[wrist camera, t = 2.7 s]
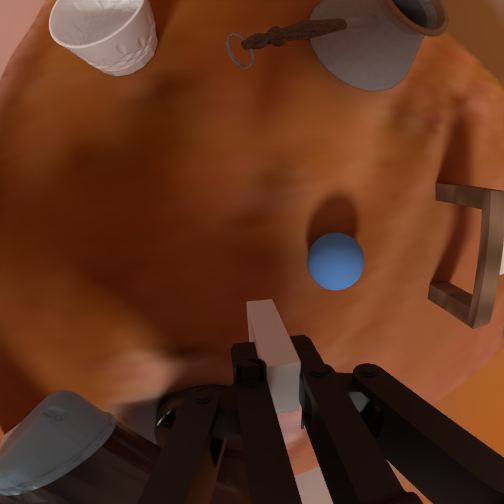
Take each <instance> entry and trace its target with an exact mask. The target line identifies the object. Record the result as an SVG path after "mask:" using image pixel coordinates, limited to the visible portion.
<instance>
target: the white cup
mask: <svg viewBox="0 0 504 504" xmlns="http://www.w3.org/2000/svg"><path fill="white" fill-rule="evenodd" d="M49 30H50V33H51V36H52V37H53V39H54V40H55V41H56V42H57V43H58V44H60V45H62V46H63V47H65V48H66V49H68V50H69V51H71V52H72V53H74V54H75V55H76V56H78V57H79V58H81V59H82V60H84V61H86V62H87V63H89V64H90V65H92V66H94V67H96V68H98V69H99V70H101V71H102V72H103V73H106V74H109V75H113V76H123V75H129V74H132V73H134V72H136V71H137V70H139V69H141V68H143V67H144V66H145V65H146V64H147V63H148V62H149V60H150V59H151V58H152V57H153V56H154V54H155V50H156V47H157V44H158V39H157V35H156V31H155V22H154V16H153V12H152V8H151V4H150V0H57V1H56V3H55V5H54V7H53V9H52V11H51V14H50V18H49Z"/></svg>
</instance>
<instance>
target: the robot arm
mask: <svg viewBox="0 0 504 504" xmlns="http://www.w3.org/2000/svg"><path fill="white" fill-rule="evenodd" d="M246 304H247V318H248V331H249V342H246V343H236V344H234V345H233V347H232V348H231V356H232V365H233V374H234V383H233V385H232V386H231V387H228V386H220V385H205V386H197V387H192V388H189V389H185V390H183V391H180V392H178V393H176V394H174V395H173V396H171V397H170V398H168V399H167V400H166V401H165V402H164V403H163V404H162V406H161V407H160V409H159V411H158V413H157V417H156V423H155V439H156V442H157V445H156V444H154V443H152V442H150V441H149V440H147V439H145V438H144V437H142V436H141V435H139V434H137V433H136V432H134V431H133V430H131V429H129V428H128V427H126V426H125V425H123V424H122V423H120V422H119V421H117V419H116V418H115V417H114V416H113V415H112V414H111V413H108V412H103V411H102V410H100V409H99V408H97V407H96V406H94V405H93V404H91V403H90V402H88V401H87V400H85V399H84V398H83V397H81V396H80V395H78V394H76V393H74V392H72V391H68V390H59V391H56V392H53V393H51V394H50V395H48V396H47V397H46V398H45V399H44V400H43V401H41V402H40V403H39V404H38V405H37V406H36V407H35V408H34V409H33V410H32V411H31V412H30V413H29V414H28V415H27V416H26V418H25V419H24V420H23V421H22V422H21V423H20V424H19V425H18V426H17V428H16V429H15V430H14V431H13V432H12V433H11V435H10V436H9V437H8V438H7V440H6V441H5V443H4V444H3V445H2V446H1V448H0V504H302V502H301V498H300V495H299V491H298V488H297V485H296V481H295V477H294V474H293V470H292V467H291V464H290V460H289V457H288V453H287V450H286V446H285V443H284V439H283V435H282V432H281V428H280V425H279V421H278V418H277V414H278V413H284V412H291V411H297V410H299V403H300V404H301V407H302V420H301V429H304V425H305V427H306V430H307V433H308V436H309V438H310V441H311V444H312V447H313V449H314V452H315V455H316V458H317V460H318V463H319V466H320V468H321V471H322V474H323V477H324V479H325V482H326V485H327V487H328V490H329V493H330V496H331V498H332V501H333V504H423V503H422V501H421V499H420V498H419V497H418V495H417V494H415V493H414V492H406V491H405V490H404V489H403V488H402V486H401V484H400V482H399V481H398V479H397V477H396V475H395V474H394V472H393V470H392V468H391V467H390V465H389V463H388V462H387V460H388V461H389V462H390V463H391V464H392V465H393V466H394V467H395V468H396V469H397V470H398V471H399V472H400V473H401V474H402V475H403V476H405V478H406V479H407V480H408V481H409V482H411V483H412V484H413V485H414V486H415V487H416V488H417V489H418V490H419V491H420V492H421V493H422V494H423V495H424V496H425V497H426V498H428V499H429V500H430V501H431V502H432V503H433V504H504V457H502V456H501V455H499V454H498V453H496V452H495V451H494V450H492V449H491V448H490V447H488V446H487V445H485V444H484V443H482V442H481V441H480V440H479V439H477V438H476V437H474V436H473V435H472V434H470V433H469V432H467V431H466V430H465V429H463V428H462V427H461V426H459V425H458V424H456V423H455V422H454V421H452V420H451V419H450V418H448V417H447V416H445V415H444V414H442V413H441V412H440V411H439V410H437V409H436V408H435V407H433V406H432V405H430V404H429V403H428V402H426V401H425V400H424V399H422V398H421V397H420V396H418V395H417V394H416V393H414V392H413V391H412V390H410V389H409V388H407V387H406V386H405V385H403V384H402V383H401V382H399V381H398V380H397V379H395V378H394V377H393V376H391V375H390V374H389V373H387V372H386V371H385V370H383V369H382V368H381V367H379V366H377V365H375V364H370V363H364V364H360V365H358V366H356V367H355V368H354V370H353V373H337V372H335V370H334V369H333V368H332V367H331V366H329V365H327V364H324V362H323V360H322V359H321V357H320V355H319V353H318V352H317V350H316V348H315V346H314V345H313V343H312V341H311V339H310V338H308V337H306V336H305V335H298V336H290V337H289V335H288V333H287V331H286V328H285V326H284V324H283V322H282V320H281V318H280V315H279V313H278V311H277V309H276V307H275V304H274V302H273V300H272V299H268V300H258V301H248V302H246ZM386 459H387V460H386Z"/></svg>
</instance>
